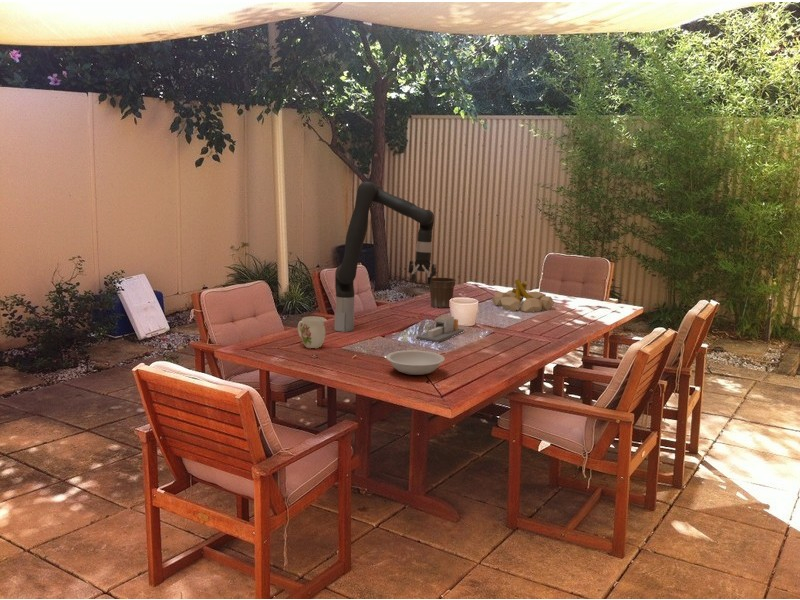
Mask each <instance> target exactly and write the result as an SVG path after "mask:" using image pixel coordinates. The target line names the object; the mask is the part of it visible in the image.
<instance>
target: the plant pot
mask: <svg viewBox="0 0 800 600" xmlns="http://www.w3.org/2000/svg"><path fill="white" fill-rule="evenodd" d="M455 283H456V279H455V278H451V277H432V283H431V284H430V285H429V291H430V306H431V307H432V306H433V307H432V308H435V307H439V308H438V309H443V308H445V309H447V308H448V309H450V307H449V300H450V299H451V298H452V299H453V297H454V288H455V285H456V284H455Z"/></svg>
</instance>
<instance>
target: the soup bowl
mask: <svg viewBox="0 0 800 600" xmlns="http://www.w3.org/2000/svg"><path fill="white" fill-rule="evenodd" d="M385 358H386V361H388V362H390V364H391V365H392V367H393V368H394V369H395V370H396V371H398V372H400V373H402V374H406V375H410V376H411V375H412V376H414V375H415V376H418V375H419V376H421V375H428V374H430V373H432V372H434V371H435V370H437V369H438V367H440V364H442V363H444V361H445V359H446V358H445V357H444V355H442V354H439V353H437V352H434V351H427V350H417V349H413V350H412V349H409V350H408V349H407V350H405V349H404V350H398V351H392V352H390V353H388V354H387V355H386V356H385Z"/></svg>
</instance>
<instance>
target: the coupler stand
mask: <svg viewBox="0 0 800 600" xmlns="http://www.w3.org/2000/svg"><path fill="white" fill-rule="evenodd" d="M458 327H459V318H458V319H457V318H456V319H455V318H454V326H453V331H451V332H449V333H446V334H444V325H442V326H439V327H437V328H435V327H434V328H432V329H429V330H427V331H426V332H424V333H422V334H418V335H416V337H415V340H416V339H420V340H419V341H422V340H426V341H425V342H428V341H432V342H431V343H434V342H440V341H442V342H444V341H446V340H445V339H447V338H449V339H451V338H450V337H452V336H454V335H456V336H458V335H457V334H459V333H461V332H463V331H464V332H465V329H462V328H458ZM461 334H462V333H461ZM459 335H460V334H459ZM454 337H455V336H454ZM452 338H453V337H452ZM443 340H444V341H443ZM447 340H448V339H447ZM440 343H441V342H440Z"/></svg>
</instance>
